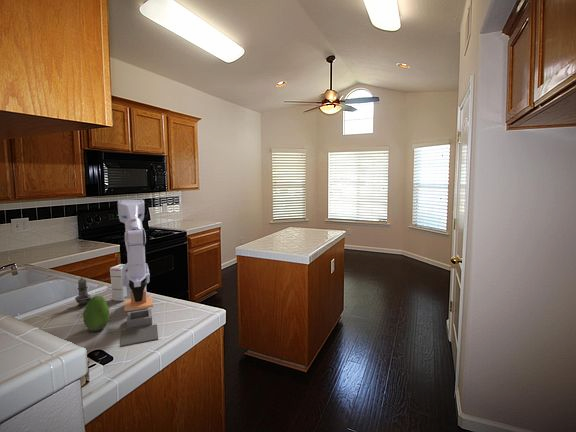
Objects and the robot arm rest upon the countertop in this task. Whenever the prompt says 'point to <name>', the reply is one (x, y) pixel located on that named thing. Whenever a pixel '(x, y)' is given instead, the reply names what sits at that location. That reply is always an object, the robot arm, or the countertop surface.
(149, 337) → the mat
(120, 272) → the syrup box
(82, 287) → the candlestick holder
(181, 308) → the countertop surface
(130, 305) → the lid
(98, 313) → the avocado
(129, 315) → the box
